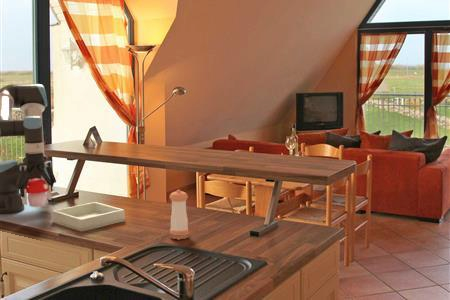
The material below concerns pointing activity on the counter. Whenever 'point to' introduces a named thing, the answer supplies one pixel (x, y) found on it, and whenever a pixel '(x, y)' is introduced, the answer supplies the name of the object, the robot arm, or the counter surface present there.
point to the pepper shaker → (179, 213)
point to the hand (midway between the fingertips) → (37, 201)
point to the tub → (88, 216)
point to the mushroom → (37, 192)
